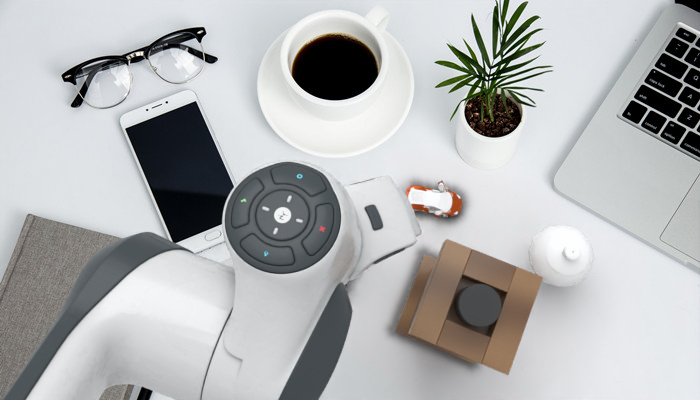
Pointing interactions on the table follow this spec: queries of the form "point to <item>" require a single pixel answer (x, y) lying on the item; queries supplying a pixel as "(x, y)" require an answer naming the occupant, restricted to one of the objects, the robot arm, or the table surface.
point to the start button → (478, 305)
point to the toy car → (434, 200)
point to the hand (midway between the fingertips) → (323, 258)
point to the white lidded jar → (561, 255)
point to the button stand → (439, 306)
